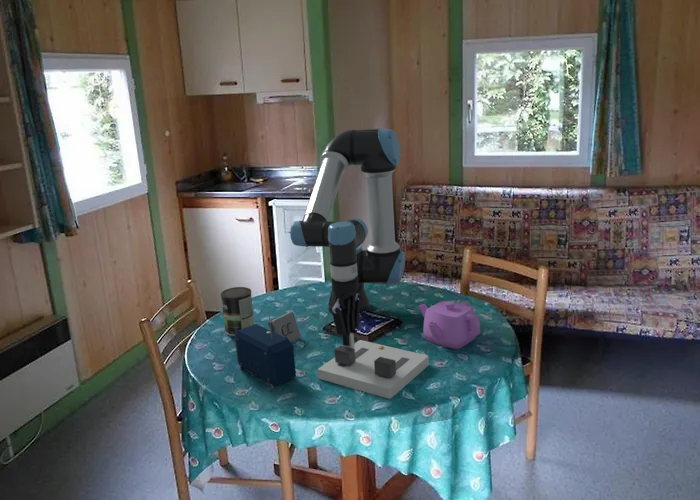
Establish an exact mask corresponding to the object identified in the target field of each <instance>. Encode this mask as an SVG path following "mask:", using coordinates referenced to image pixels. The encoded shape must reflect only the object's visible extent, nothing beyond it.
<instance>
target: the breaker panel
mask: <svg viewBox="0 0 700 500" xmlns="http://www.w3.org/2000/svg"><path fill="white" fill-rule="evenodd" d="M354 348H355V362H354V363H353V364H352V365H350V366H348V365H344V364H341V363H337V362H335V356H334V357H333V358H332V359H330V360H329V361H328V362H326V363H324V364H323V365H321V366H320V367H319V368H317V377H318V378H317V379H318V380H323V381H325V382H329V383H333V384H336V385H339V386H343V387H346V388H347V387H348V388H350V389H354V390H357V391H360V392H364V393H367V394H370V395H373V396H379V397H381V398H385V399H388V400H391V399H392V398H393V397H394V396H396V395H397V394H398V393H399V392H400V391H401V390H402V389H404V387H406V386H407V385H408V384H409V383H410V382H412V380H414V379H415V378H416V377H417V376H418V375H419V374H421V373H422V372H423V371H424V370H425V369H426V368H428V367H429V365H430V361H429V357H430V356H429V355H428V354H423V353H418V352H416V351H415V352H414V351H409V350H405V349H401V348H396V347H392V346H388V345H384V344H379V343H375V342H371V341H366V340H361V339H360V340H358V341H356V342H354ZM379 357H383V358H388V359H392V360H395V362H396V374H395V375H394V376H393V377H391V378H388V377H384V376H380V375H376V374H375V367H374V361H375V360H376V359H377V358H379Z"/></svg>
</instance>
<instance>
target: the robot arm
mask: <svg viewBox="0 0 700 500" xmlns="http://www.w3.org/2000/svg"><path fill="white" fill-rule="evenodd" d="M401 153H402V152H401V145H400V141H399V138H398V136H397V134H396V132H395V131H394V130H393V129H391V128H389V129H388V128H368V129H367V128H366V129H364V128H363V129H346V130H345V131H342V132H341V133H338V135H336V136H335V137H334V138H332V139H331V140H330V141H329V142H328V143H327V144H326V146H325V147H324V148H323V151H322V153H321V155H320V158H319V164H320V167H319V170H318V174H317V176H316V180H315V183H314V186H313V187H312V188H313V189H312V192H311V195H310V198H309V200H308V203H307V206H306V210H305V212H304V215H303V218H302V220H295V221H294V222H292V223H291V226H290V229H289V230H290V231H289V233H290V235H289V236H290V241H291V243H292V244H293V245H295V247H296V246H297V247H306V248H307V247H313V248H315V247H321V248H322V247H324V248H325V247H326V248H329V249H328V251H329V266H330V267H329V268H330V279H331V281H330V282H331V292H330V296H329V301H328V311H329V313H331V314H332V317H333V322H334V326H335V329H336V330H335V331H336V333H337V335H338V336H339V335H340V336H342V344H343V345H342V346H344V347H349V348H353V349H355V348H354V344H355V334H356V333H358V328H359V323H360V315H359V313H360V312H363V311H366V312H365V313H367V312H368V311H369V310H370V309H371V304H370V302H371V301H370V299H369V296H368V294H367V291H366V289H365V284H378V285H379V284H381V285H382V284H383V285H397V284H399V283H400V282H401V281H402V279H403V275H404V270H405V265H406V252H405V251H403V250H401V248H400V244H399V243H398V242H397V241H396V235H395V233H396V232H395V213H394V195H393V178H392V177H393V174H394V172H395V171H396V168H397V165H400V163H401ZM350 166H360V172H361V173H362V174H363V175H364V176H365V179H366V195H367V209H368V210H367V211H368V222H369V223H368V225H369V231H368V226H367V224H366V222H364V221H363V220H362V219H360V218H351V219H348V220H347V221H330V220H329V219H330V216H331V213H332V209H333V206H334V204H335V200H336V197H337V193H338V191H339V187H340V185H341V181H342V178H343V174H345V172H347V170H348V169H349V167H350ZM368 233H369V243H368V245H367V246H366V249H363V247H362V246H361V244H363V243H364V242H365V240H366V238H367V236H368Z"/></svg>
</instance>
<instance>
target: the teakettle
mask: <svg viewBox="0 0 700 500" xmlns="http://www.w3.org/2000/svg"><path fill="white" fill-rule="evenodd" d="M470 305H471V304H470V302H469V301H466V300H463V301H461V302H459V303H458V302H454V301H450V300H449V301H448V300H442V301H439V302H437V303H436V304H434V305H432V306H430V307H428V306H427V304H423V303H422V304H419V305H418V307H419V309H420V312H421V314H422V317H423V318H424V320H423V331H422V333H423V337H424V340H425V341H427V342H430V343H432V344H435V345H438V346H441V347H445V348H450V349H453V350H459V349H461V348H464V347H465V346H467V345H469V344H470V343H471V342H473V341H475V339H476V338H477V336H479V335H480V334H481V323H480V316H478V315H476V313H475V310H474V308H473V307H472V306H470Z"/></svg>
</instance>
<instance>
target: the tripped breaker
mask: <svg viewBox="0 0 700 500" xmlns="http://www.w3.org/2000/svg"><path fill="white" fill-rule="evenodd" d="M334 357H335V362H337V363H341V364H344V365H348V366H350V365H352V364H353V363H354V362H355V349H353V348H349V347H344V345H339V346H338V347H336V348H334Z"/></svg>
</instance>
